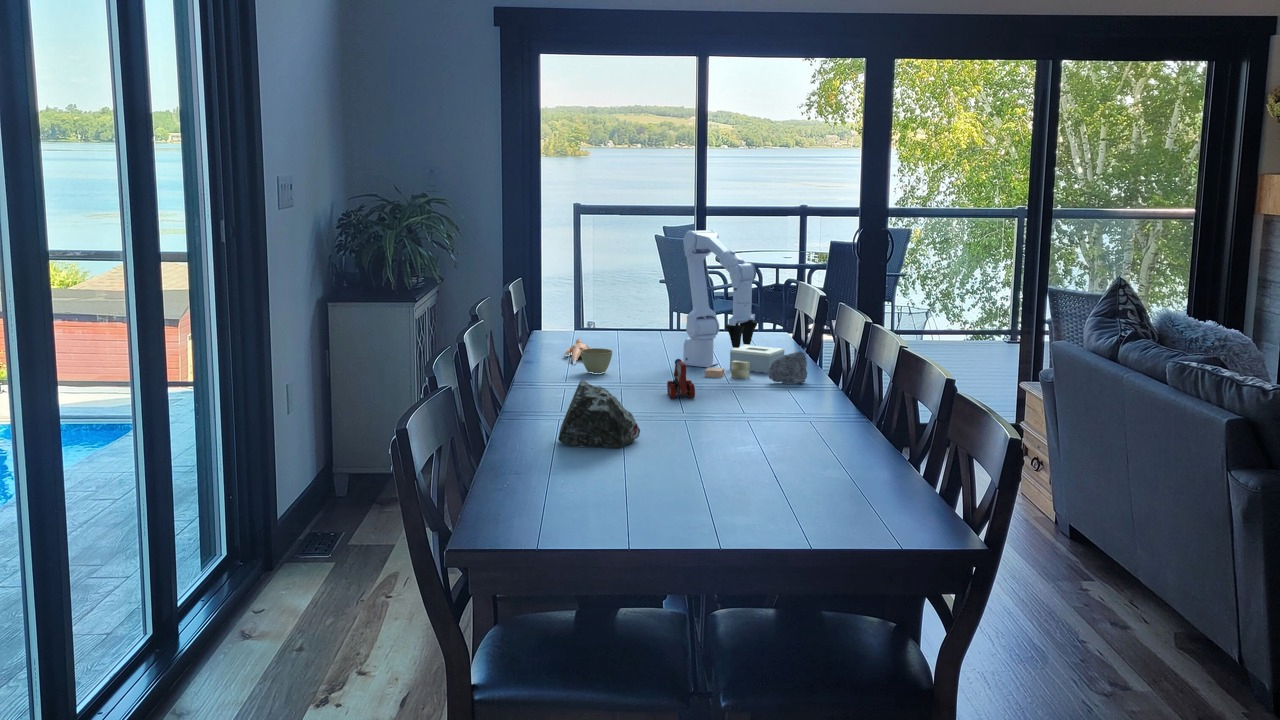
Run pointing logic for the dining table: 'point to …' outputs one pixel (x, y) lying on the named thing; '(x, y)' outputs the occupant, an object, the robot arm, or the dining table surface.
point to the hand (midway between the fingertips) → (741, 345)
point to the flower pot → (596, 359)
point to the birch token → (740, 369)
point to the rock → (789, 368)
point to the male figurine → (576, 349)
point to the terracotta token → (714, 372)
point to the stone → (597, 419)
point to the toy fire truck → (680, 382)
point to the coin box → (756, 356)
